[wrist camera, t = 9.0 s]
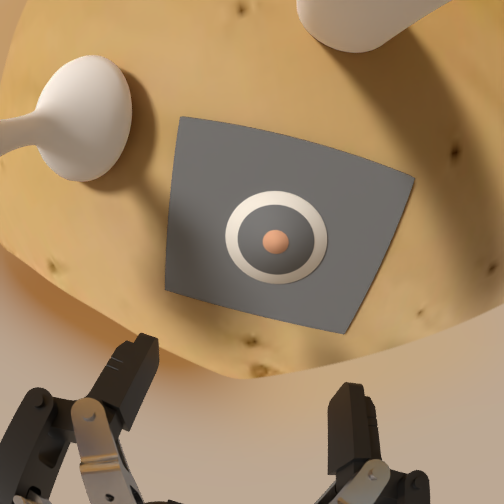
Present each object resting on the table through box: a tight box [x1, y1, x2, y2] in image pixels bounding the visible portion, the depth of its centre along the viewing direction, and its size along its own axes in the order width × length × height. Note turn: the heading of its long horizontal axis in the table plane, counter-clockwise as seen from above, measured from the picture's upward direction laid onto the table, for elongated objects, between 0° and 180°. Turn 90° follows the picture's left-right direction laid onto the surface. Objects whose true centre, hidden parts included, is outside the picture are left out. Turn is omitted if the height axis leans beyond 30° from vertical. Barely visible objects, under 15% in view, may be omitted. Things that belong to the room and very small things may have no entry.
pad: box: [165, 117, 415, 334], centre depth 22 cm, size 18×16×1 cm
